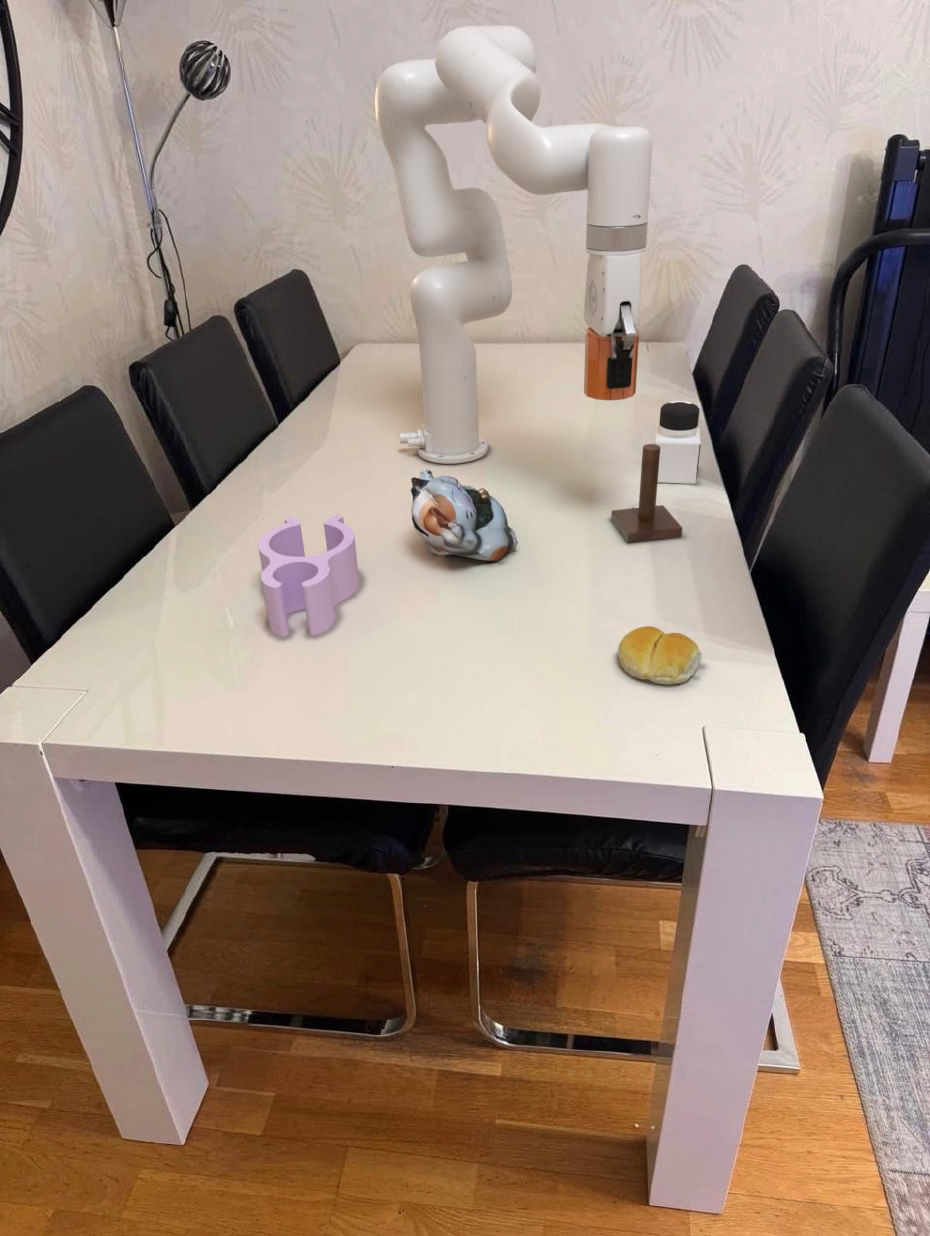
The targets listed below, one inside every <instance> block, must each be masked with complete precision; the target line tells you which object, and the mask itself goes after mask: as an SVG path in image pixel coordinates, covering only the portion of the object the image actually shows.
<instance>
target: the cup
mask: <svg viewBox="0 0 930 1236" xmlns="http://www.w3.org/2000/svg"><path fill="white" fill-rule="evenodd" d="M585 332H586V333H585V339H584V340H585V345H584V373H583V374H584V376H583V377H584V378H583V379H584V380H583V393H584V395H585V396H586V397H587V398H590V399H594V400H598V401H610V402H611V401H621V400H626V399H630V398H633V397H634V396H635V394H636V390H637V376H638V375H637V374H638V357H639V340H640V333H639V329H638V330H637V332H636V338H635V341H634V347H633V358H632V376H631V386H630V387H627V388H615V389H609V388H608V387H607V386H606V384H607V359H608V358H610V346H609V335H608V334H607V336H606V337H601V336H600V335H598V334H597V333H596V332H595V331H594V330H593V329H591V328H590V327H589V326H588V327H587V328H586V331H585ZM620 332H623V331H622V329H616V330H614V333H620ZM615 340H616V347H617V344H618V342H619V341H620V340H622V338H620V339H615Z"/></svg>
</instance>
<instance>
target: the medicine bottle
mask: <svg viewBox="0 0 930 1236" xmlns="http://www.w3.org/2000/svg"><path fill="white" fill-rule="evenodd" d="M659 411H660V412H659V424H658V426H656V427H655V429H654V442H653V444H656V445H659V446H660V458H659V471H658V483H660V484H661V483H663V484H680V485H681V484H682V485H683V484H684V485H696V484H697V483H698V473H699V463H700V454H701V445H702V442H701V441H702V440H701V429H700V427H699V421H700V419H699V418H700V408H699V406H698V405H696V404H695V403H693V402H690V401H685V400H672V401H669V402H666V403H664V404H662V406H661V407H660V410H659Z"/></svg>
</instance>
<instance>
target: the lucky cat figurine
mask: <svg viewBox="0 0 930 1236" xmlns="http://www.w3.org/2000/svg"><path fill="white" fill-rule="evenodd" d="M410 481H411V488H410V492H411V493H410V494H411V495H412V503H411V508H410V512H411V522H412V525H413V528H414V529H415V531H416V532H417V534H419V536H421V538H422V539H424V541H426V543H427V547H428V549H429V552H430V554H431V555H438V556H446V555H455V556H458V557H465V558H469V559H474V560H477V561H478V560H479V561H488V562H492V563H498V562H499V561H501V560H502V559H503V558H504V557H506V556H507V555H508V554H509V553H510V552H511V551H512V549H514V548H517V546H518V545H519V541H518V539H517V535H516V532H515V530H514V529H513V528H511V527H510V526H509V523H508V522H509V521H508V518H507V514H506V512H505V509H504V507H503V506H502V504H500V502H499V501H498V500H497V499H496V498H495V497H494V496H492V495H490V493H489V491H488V490H486V489H485V488H484V487H481V488H479V489H477V488H475V487H473V486H471V485H462V483H460V482H459V480H458V479H457V478H455V477H453V476H450V475H441V476H435V477H434V476H433V473H432V471H431V470H430V469H423V470H421V471H419V477H415V476H414V477H412V478H411V479H410Z"/></svg>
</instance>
